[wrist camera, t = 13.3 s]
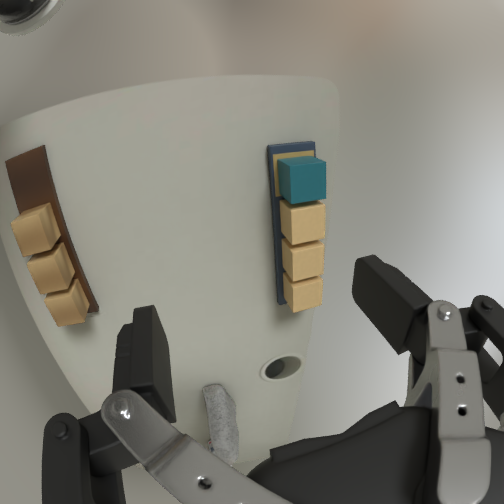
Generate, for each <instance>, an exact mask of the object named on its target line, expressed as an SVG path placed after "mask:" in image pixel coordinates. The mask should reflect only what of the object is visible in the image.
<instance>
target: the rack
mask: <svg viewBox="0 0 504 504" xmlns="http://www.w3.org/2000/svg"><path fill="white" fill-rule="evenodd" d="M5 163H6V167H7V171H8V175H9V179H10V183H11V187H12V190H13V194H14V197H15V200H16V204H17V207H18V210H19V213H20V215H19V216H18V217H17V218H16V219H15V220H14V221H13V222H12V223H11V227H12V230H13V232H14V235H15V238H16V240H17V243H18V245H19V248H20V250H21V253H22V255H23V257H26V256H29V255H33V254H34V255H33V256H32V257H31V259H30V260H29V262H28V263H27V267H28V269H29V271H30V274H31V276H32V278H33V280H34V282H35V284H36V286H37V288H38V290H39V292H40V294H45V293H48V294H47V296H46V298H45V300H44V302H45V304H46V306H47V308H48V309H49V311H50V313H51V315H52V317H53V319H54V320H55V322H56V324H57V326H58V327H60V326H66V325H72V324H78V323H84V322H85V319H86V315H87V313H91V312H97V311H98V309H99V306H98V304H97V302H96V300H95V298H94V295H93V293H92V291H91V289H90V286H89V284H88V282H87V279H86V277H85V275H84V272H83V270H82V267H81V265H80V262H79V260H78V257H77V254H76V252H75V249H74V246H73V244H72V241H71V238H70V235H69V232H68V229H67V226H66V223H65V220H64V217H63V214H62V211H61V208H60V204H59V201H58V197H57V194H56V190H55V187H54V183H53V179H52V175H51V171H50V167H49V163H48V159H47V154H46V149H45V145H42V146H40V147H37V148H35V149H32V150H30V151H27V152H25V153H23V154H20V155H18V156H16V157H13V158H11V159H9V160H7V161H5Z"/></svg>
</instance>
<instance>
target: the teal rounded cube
mask: <svg viewBox="0 0 504 504" xmlns="http://www.w3.org/2000/svg"><path fill="white" fill-rule="evenodd" d="M277 162H278V177H279V194H280V195H281V196H283V197H284V198H285V199H286V200H287V201H288V202H289V203H290V204H296V203H302V202H308V201H314V200H320V199H326V162H325V161H322V160H320V159H318V158H315V157H313V156H301V157H292V158H284V159H277Z"/></svg>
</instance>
